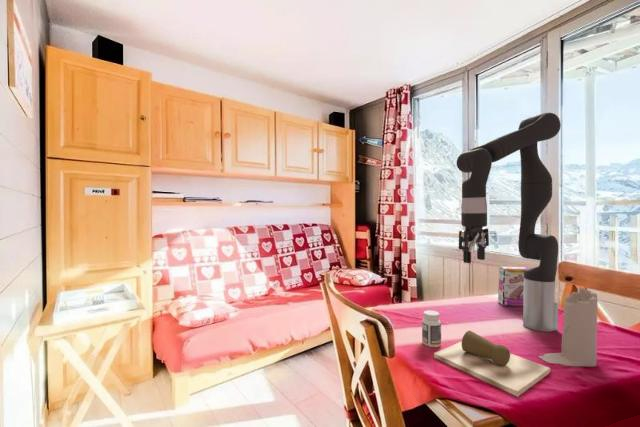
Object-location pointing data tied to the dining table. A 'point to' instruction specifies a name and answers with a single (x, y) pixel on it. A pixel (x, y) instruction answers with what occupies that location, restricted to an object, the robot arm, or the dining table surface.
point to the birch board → (495, 369)
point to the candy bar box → (511, 286)
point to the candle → (578, 331)
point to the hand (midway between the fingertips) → (474, 261)
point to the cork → (485, 348)
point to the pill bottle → (431, 329)
